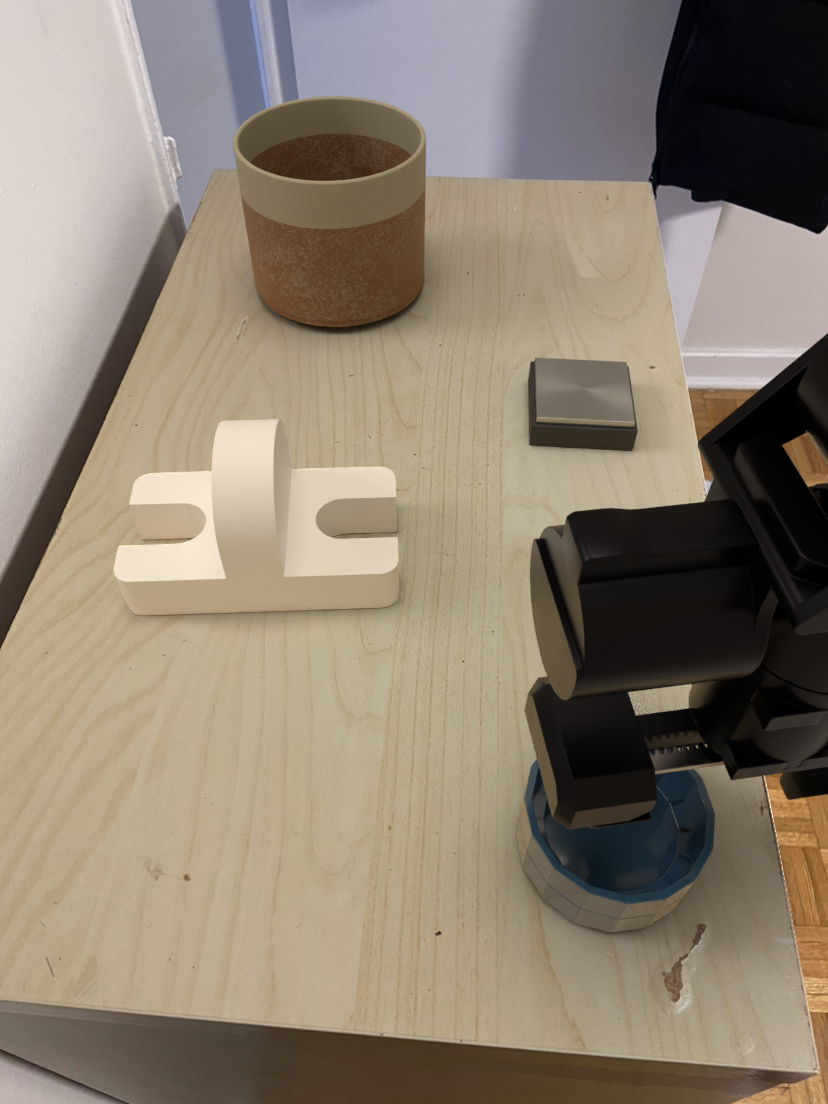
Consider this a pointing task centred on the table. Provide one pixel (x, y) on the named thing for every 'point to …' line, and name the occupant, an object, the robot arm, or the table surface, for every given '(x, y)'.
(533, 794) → the bowl
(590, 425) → the scale
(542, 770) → the robot arm
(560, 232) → the table surface
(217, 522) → the slotted base with upright
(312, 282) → the planter
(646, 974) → the table surface
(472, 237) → the table surface
